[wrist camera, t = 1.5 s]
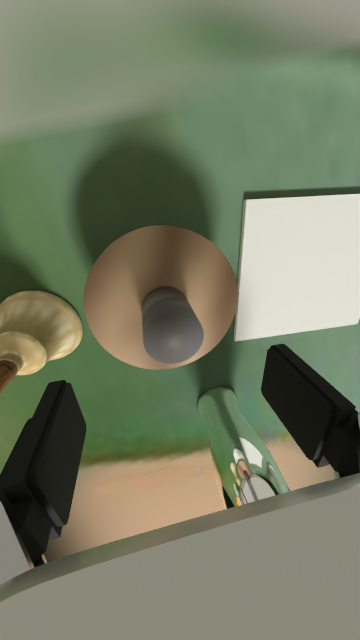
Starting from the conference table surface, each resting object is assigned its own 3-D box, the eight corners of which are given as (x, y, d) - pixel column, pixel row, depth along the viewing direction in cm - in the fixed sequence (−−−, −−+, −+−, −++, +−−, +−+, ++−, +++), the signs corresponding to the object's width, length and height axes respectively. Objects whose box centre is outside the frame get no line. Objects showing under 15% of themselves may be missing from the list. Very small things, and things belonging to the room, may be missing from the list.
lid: (238, 220, 17) (283, 225, 12) (228, 353, 23) (255, 395, 18) (67, 229, 16) (31, 239, 10) (103, 371, 22) (92, 424, 16)
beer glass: (198, 422, 35) (235, 552, 22) (190, 391, 31) (229, 522, 18) (239, 410, 35) (301, 530, 22) (236, 378, 32) (306, 497, 19)
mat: (400, 191, 24) (405, 191, 23) (353, 321, 31) (357, 323, 30) (243, 200, 21) (246, 199, 21) (233, 338, 29) (235, 341, 28)
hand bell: (-25, 310, 21) (-327, 497, 7) (52, 276, 21) (-109, 404, 7) (32, 368, 25) (-96, 564, 11) (97, 341, 25) (48, 503, 11)
